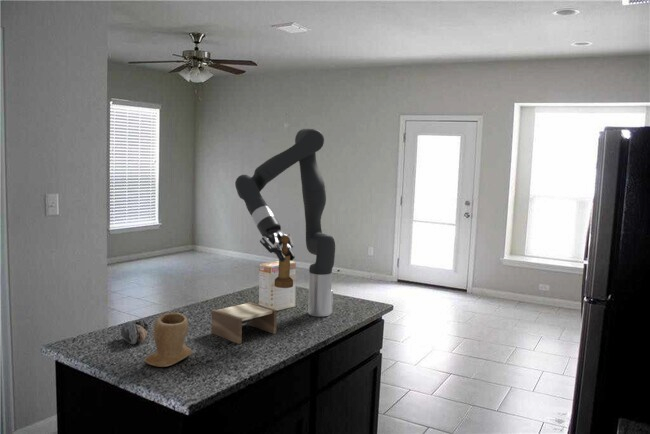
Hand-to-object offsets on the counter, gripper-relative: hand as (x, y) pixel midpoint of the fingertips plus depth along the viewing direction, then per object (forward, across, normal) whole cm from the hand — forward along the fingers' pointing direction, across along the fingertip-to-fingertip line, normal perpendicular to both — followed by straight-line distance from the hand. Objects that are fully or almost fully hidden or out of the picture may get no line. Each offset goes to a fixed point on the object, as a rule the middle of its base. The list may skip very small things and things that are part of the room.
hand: (288, 259), depth 192 cm
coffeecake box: (-2, +24, +42) cm, 48 cm away
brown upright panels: (+10, -7, +30) cm, 32 cm away
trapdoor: (+8, -7, +28) cm, 30 cm away
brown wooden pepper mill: (+6, 0, +8) cm, 10 cm away
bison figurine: (-2, -39, +43) cm, 58 cm away
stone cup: (+15, -41, +26) cm, 51 cm away
